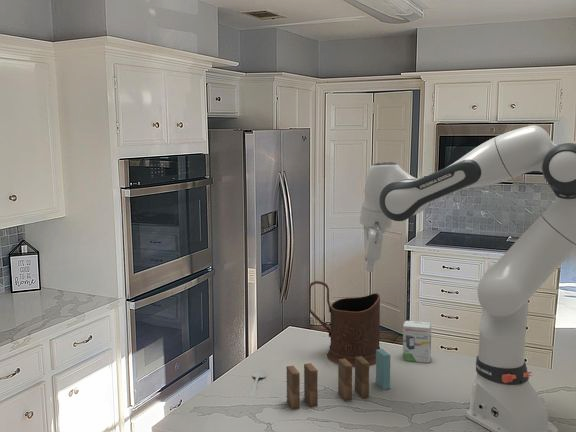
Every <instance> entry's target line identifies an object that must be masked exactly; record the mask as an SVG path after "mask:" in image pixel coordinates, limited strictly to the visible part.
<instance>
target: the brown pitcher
mask: <svg viewBox="0 0 576 432" xmlns="http://www.w3.org/2000/svg"><path fill="white" fill-rule="evenodd" d="M316 284H318V285H322V286H324V287H325V288H326V303H327V305H328V313H330V328H329V327H328V325H326V324H325V322H323V320H321V319H320V318H319V317H318V315H316V313H315V312H314V311H312V304H311V303H312V300H311V299H312V287H313V286H314V285H316ZM308 309H309V310H308V311H309V313H310V314H311V315H312V317H314V318H315V319H316V320H317V322H318V323H319V324H321V325H322V327H323V328H324V329H325V330H326V331H327V332H328V337H329V338H330V345H329V349H328V350H327V352H326V355H327V356H326V358H327V359H328V361H330V362H332V363H334V364H335V365H338V359H344V358H345V359H346V360H347V361H348V362H349V363H350V364H352V368H355V357H359V356H362V357H363V358H364V359H365V360H367V361H368V362H369V367H371V366H376V350H377V349H381V347H380V325H381V324H380V322H381V320H380V316H381V313H380V312H381V295H380V293H372V294H368V295H364V296H359V297H357V296H356V297H345V298H339V299H337V300H334V301H333V302H331V303H330V287H329V286H328V284H327V283H326V282H324V281H321V280H314V281H312V282H311V283H309V286H308Z"/></svg>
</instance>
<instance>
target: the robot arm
mask: <svg viewBox="0 0 576 432" xmlns="http://www.w3.org/2000/svg"><path fill="white" fill-rule="evenodd" d="M531 172H541V173H542V176H543V178H544V180H545V182H546V183H547V185H548V186H549V187H550V188H551V190H552V192H553V193H554V195H555V196H556V197H555V199H554V200H553V202H552V203H551V204H550V205H549V206H548V208H547V209H546V210H545V211H544V212H543V213H542V214H541V215H540V216H538V218H537V219H536V220H535V221H534V222H533V223H532V224H531V225H530V226H529V227H528V228H527V229H526V230H525V231H524V232H523V233H522V235H520V236H519V238H518V239H517V240H516V241H515V242H514V243H513V244H512V245H511V246H510V247H509V249H508V250H507V251H506V252H504V254H503V255H502V256H501V258H499V259H498V260H497V261H495V262H494V263H492V264H491V265H490V266H489V267H488V268H487V270H486V271H485V273H484V275H483V276H482V278H481V279H480V280H479V282H478V285H477V297H478V298H477V299H478V302H479V305H480V306H481V312H480V313H481V315H480V321H479V328H478V331H479V332H478V334H479V335H478V348H477V349H478V351H477V352H478V355H477V356H476V360H475V371H476V377H475V380H474V381H473V384H472V388H471V397H470V404H469V407H468V408H469V409H468V410H466V415H465V416H466V418H467V419H470V420H471V421H472V422H475V424H478V425H480V426H481V427H482V428H484V429H487V430H489V431H490V432H559V429H558V428H557V426H555V425H554V424H553V423H552V422H551V421H550V420H549V415H548V414H549V413H548V408H547V405H546V404H545V399H544V397H543V396H541V395H539V393H538V392H537V391H536V390H535V388H534V386H533V385H532V383H531V382H530V379H529V378H530V377H532V376H533V375H531V374H532V373H533V372H532V371H528V367H527V363H526V361H525V354H526V353H525V352H526V337H527V336H526V333H527V322H528V312H529V311H528V310H529V300H530V298H531V297H532V296H533V295H534V294H535V293H536V292H537V291H538V289H540V288H541V286H542V285H544V283H545V282H546V281H547V280H548V278H550V276H551V275H552V274H553V273H554V272H555V271H556V270H557V269H558V268H559V267H560V266H561V265H562V264H563V263H564V262H565V261H566V260H568V258H569V257H570V256H571V255H572V254H573V253H575V251H576V143H575V142H574V143H573V142H572V143H571V142H566V143H560V144H556V143H555V142H554V141H553V140H552V138H551V136H550V134H549V133H548V132H547V131H546V129H544V128H543V127H541V126H539V125H534V124H533V125H528V126H524V127H520V128H519V127H518V128H515V129H513V130H510V131H507V132H505V133H502V134H500V135H497V136H495V137H492V138H490V139H489V140H486V141H484V142H483V143H481V144H480V145H478V146H476V147H475V148H473V149H472V150H470V151H469V152H467V153H466V154H464V155H463V156H461V157H460V158H459V159H457V160H456V161H455V162H453V163H451V164H450V165H448V166H446V167H444V168H442V169H440V170H438V171H435V172H433V173H430V174H428V175H426V176H423V177H421V178H417V177H414V176H412V175H411V174H409V173H408V172H406V171H405V170H404V169H402V168H401V166H400V165H399V164H398V163H396V162H392V161H389V162H387V161H385V162H384V161H383V162H376V163H374V164H372V165H371V166H370V167H369V169H368V173H367V176H366V179H365V183H364V185H365V186H364V191H363V194H364V198H363V199H364V200H363V202H362V205H361V211H360V216H359V224H360V225H362V226H363V227H362V229H363V243H364V249H365V250H364V251H365V257H364V261H365V262H366V268H365V269H366V271H367V272H369V273H370V272H371V273H372V272H373V271H374V267H375V264H376V261H379V260H380V258H381V254H382V253H381V252H382V247H383V240H384V239H383V237H384V233H385V234H386V230H388V229H390V228H392V222H393V221H394V222H404V221H406V220H408V219H409V218H411V217H412V216H416V215H417V214H420V213H422V212H423V211H424V210H426V209H428V208H429V206H430V204H431V203H432V202H433V201H435V200H437V199H440V198H442V197H445V196H448V195H449V194H453V193H454V192H455V193H456V192H459V191H462V190H467V189H473V188H481V187H485V186H492V185H497V184H501V183H503V182H506V181H510V180H512V179H514V178H516V177H519V176H521V175H524V174H527V173H531Z"/></svg>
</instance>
